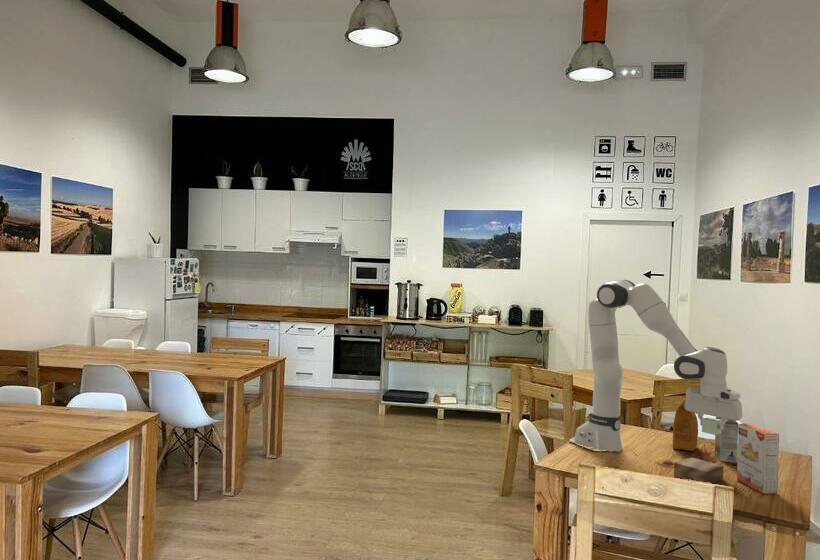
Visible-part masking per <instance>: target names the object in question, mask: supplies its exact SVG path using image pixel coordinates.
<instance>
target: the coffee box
mask: <svg viewBox="0 0 820 560" xmlns="http://www.w3.org/2000/svg"><path fill="white" fill-rule="evenodd" d="M715 418H716V419H720V420H721V418H720V417H715ZM738 424H739V422H737V421H734V420H729V419H727V422H726V423H725V424H724V429H723V430H722V433H720V434H717V435H714V456H715V457H716V458H717V459H718V461H720V462H725V463H736V464H737V461H738Z"/></svg>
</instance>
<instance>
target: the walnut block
mask: <svg viewBox="0 0 820 560" xmlns="http://www.w3.org/2000/svg"><path fill="white" fill-rule="evenodd" d="M673 463H674V464H673V466H674V467H673V477H676V478H679V479H682V478H685V479H691V480H696V481H703V482H710V483H713V484H715V483H717V482H716V481H718V482H720V481H719V480H721V481H723V480H724V465H722V464H717V463H714V462H710V461H707V460H702V459H699V458H696V457H691V456H690V457H687V458H685V459H682V460H679V461H675V462H673ZM685 479H684V480H685ZM722 479H723V480H722Z"/></svg>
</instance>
